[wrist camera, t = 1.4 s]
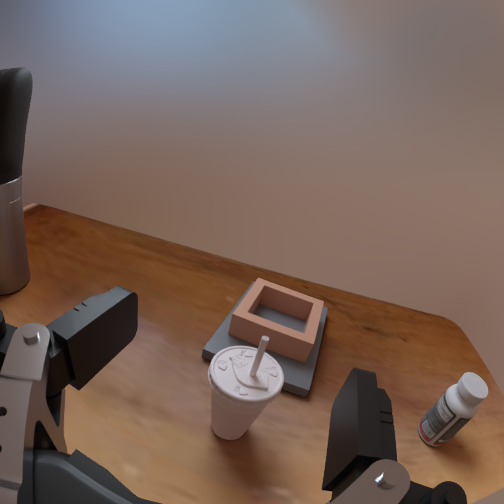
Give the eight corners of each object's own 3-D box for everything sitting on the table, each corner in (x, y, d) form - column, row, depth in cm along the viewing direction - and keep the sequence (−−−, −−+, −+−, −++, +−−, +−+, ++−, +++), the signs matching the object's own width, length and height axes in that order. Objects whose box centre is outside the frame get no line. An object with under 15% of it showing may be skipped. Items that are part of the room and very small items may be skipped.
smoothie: (225, 461, 23) (259, 380, 17) (186, 417, 27) (199, 321, 21) (270, 431, 27) (317, 342, 21) (231, 394, 31) (260, 299, 25)
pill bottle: (448, 425, 29) (490, 379, 25) (443, 453, 25) (492, 407, 20) (419, 411, 32) (460, 363, 28) (412, 439, 27) (459, 391, 23)
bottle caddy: (201, 356, 35) (206, 328, 33) (251, 287, 53) (258, 263, 51) (305, 397, 33) (319, 372, 30) (324, 314, 50) (334, 291, 48)
